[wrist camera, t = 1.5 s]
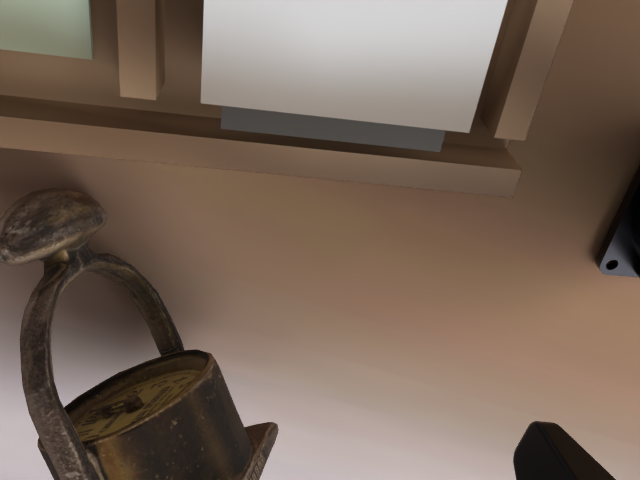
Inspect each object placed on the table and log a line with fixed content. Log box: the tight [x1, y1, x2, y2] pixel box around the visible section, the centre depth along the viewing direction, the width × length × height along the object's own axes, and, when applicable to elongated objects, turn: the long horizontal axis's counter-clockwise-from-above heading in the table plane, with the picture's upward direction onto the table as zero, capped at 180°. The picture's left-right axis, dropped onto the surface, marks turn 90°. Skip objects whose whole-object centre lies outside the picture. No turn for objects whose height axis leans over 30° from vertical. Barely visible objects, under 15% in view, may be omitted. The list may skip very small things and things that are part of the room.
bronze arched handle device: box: [0, 189, 278, 480], centre depth 21 cm, size 7×13×10 cm, turn 37°
